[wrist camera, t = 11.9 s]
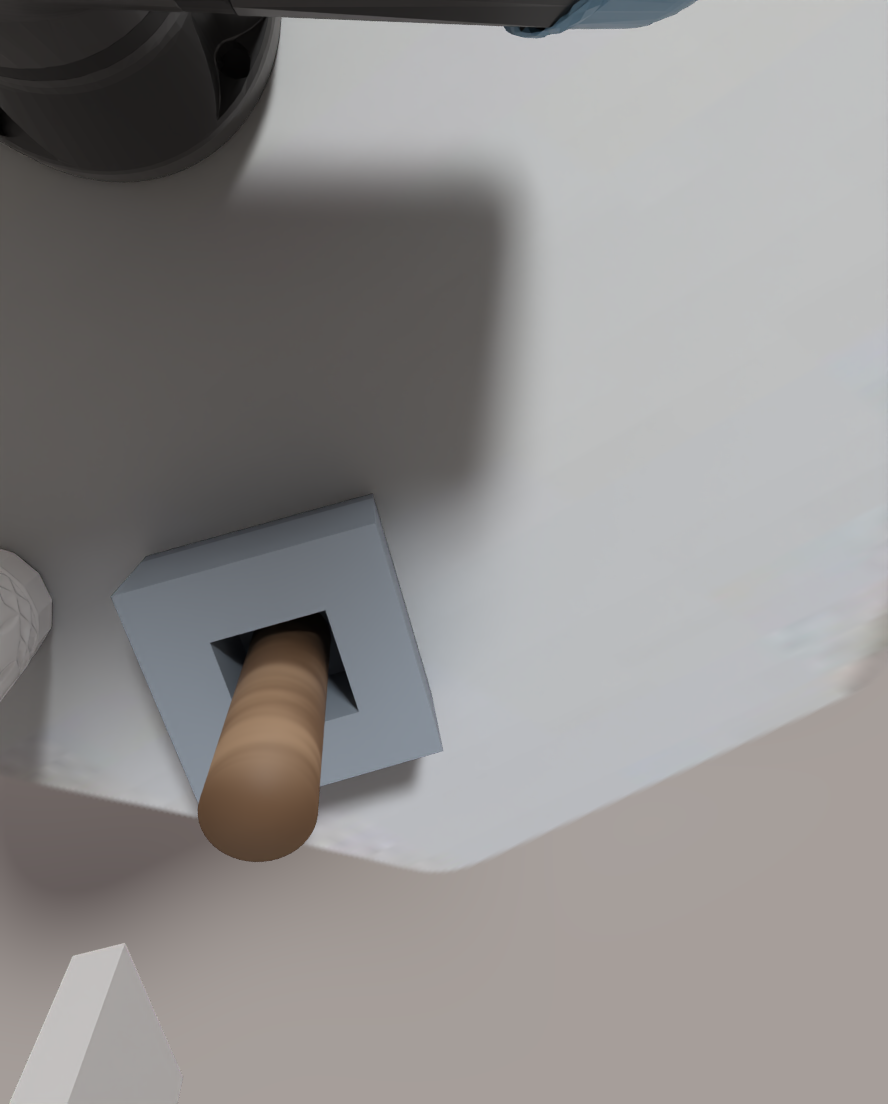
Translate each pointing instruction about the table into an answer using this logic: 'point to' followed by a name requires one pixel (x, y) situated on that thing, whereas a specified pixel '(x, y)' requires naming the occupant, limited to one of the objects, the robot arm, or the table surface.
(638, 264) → the table surface
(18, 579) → the white cup
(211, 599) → the socket block
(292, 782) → the walnut dowel
